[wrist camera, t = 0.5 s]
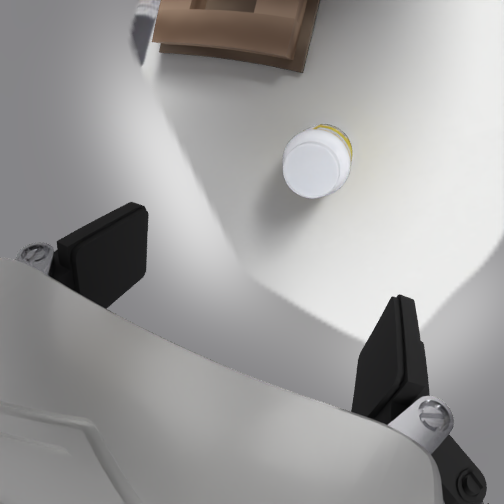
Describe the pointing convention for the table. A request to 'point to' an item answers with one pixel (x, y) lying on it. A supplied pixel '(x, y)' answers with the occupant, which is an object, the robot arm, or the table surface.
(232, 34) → the bottle holder
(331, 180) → the supplement bottle
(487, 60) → the table surface
